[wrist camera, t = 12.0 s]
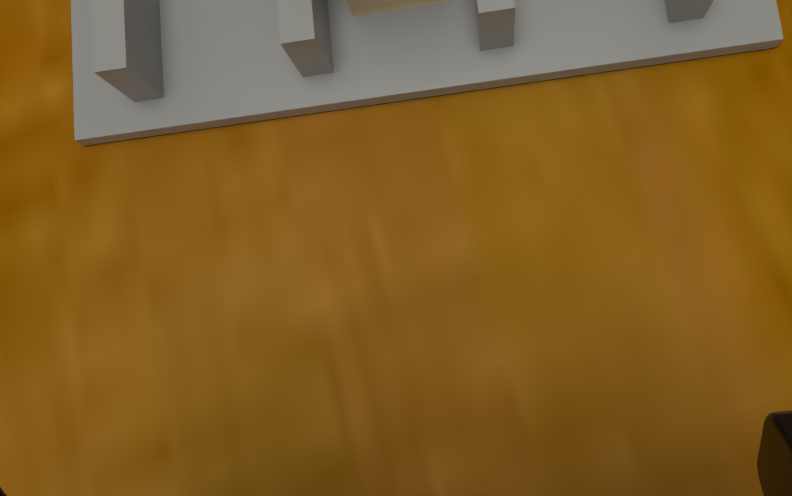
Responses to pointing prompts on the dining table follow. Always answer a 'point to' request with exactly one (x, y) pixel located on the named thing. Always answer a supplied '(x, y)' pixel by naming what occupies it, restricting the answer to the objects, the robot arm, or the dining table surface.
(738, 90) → the dining table surface
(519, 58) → the slotted rack
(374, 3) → the birch block
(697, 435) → the dining table surface
